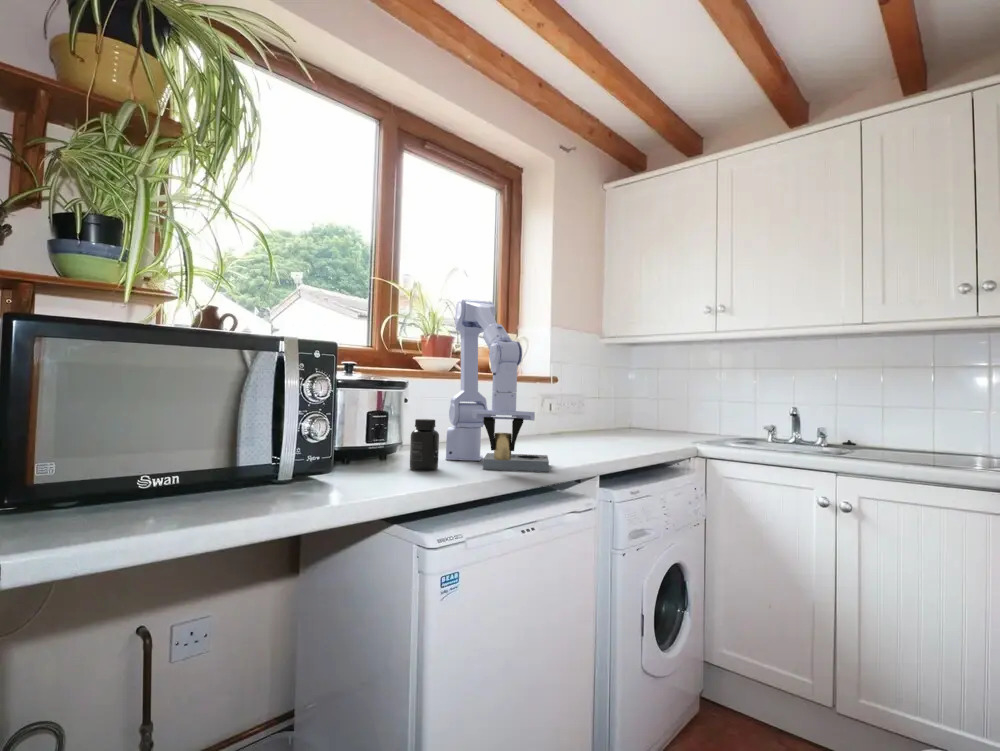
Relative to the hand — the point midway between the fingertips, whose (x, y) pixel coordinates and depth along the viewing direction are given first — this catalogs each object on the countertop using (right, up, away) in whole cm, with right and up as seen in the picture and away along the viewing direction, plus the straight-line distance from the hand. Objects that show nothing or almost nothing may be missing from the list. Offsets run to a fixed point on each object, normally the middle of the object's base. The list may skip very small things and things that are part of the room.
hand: (502, 450), depth 123 cm
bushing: (0, -2, 0) cm, 2 cm away
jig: (+4, -6, +11) cm, 13 cm away
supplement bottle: (-19, -5, +3) cm, 20 cm away
